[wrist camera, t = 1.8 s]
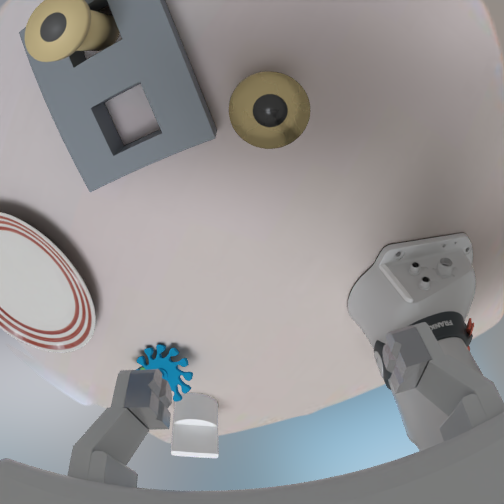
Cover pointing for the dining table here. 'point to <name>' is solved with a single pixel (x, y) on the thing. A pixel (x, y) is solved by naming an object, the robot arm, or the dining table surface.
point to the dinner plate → (41, 291)
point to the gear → (167, 369)
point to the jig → (114, 81)
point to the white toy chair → (195, 426)
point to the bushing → (269, 110)
